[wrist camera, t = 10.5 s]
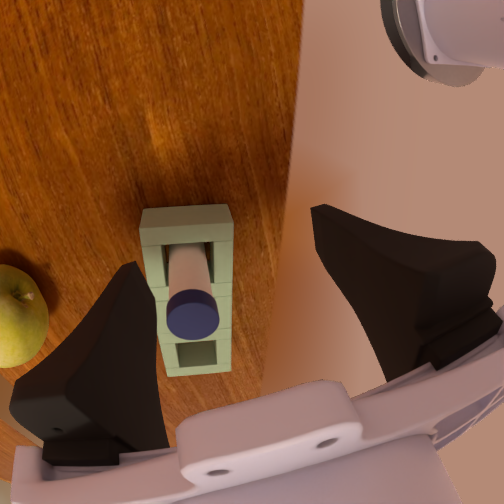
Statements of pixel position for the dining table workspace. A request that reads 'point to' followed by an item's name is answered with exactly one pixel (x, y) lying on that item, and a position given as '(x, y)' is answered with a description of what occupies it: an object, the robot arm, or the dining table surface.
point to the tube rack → (220, 272)
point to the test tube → (190, 293)
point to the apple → (20, 317)
